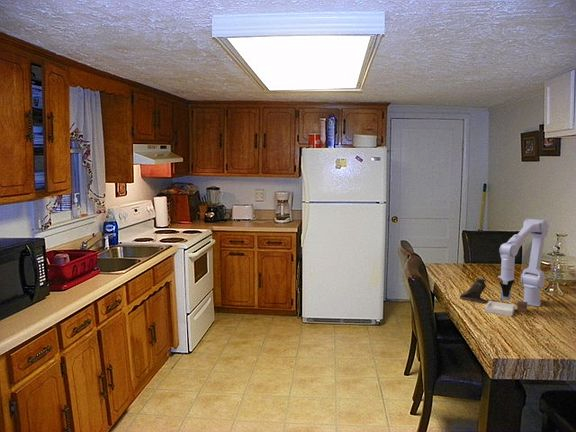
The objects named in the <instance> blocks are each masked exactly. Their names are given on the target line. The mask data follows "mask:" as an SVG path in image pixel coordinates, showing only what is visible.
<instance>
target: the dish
mask: <svg viewBox="0 0 576 432" xmlns="http://www.w3.org/2000/svg"><path fill="white" fill-rule="evenodd" d="M515 310H516V304H513V303H505V302H500V301H499V302H498V301H492V300H488V302H487V303H486V305H485V307H484V313H487V314H493V315H500V316H506V317H513V315H514V313H515Z"/></svg>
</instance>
